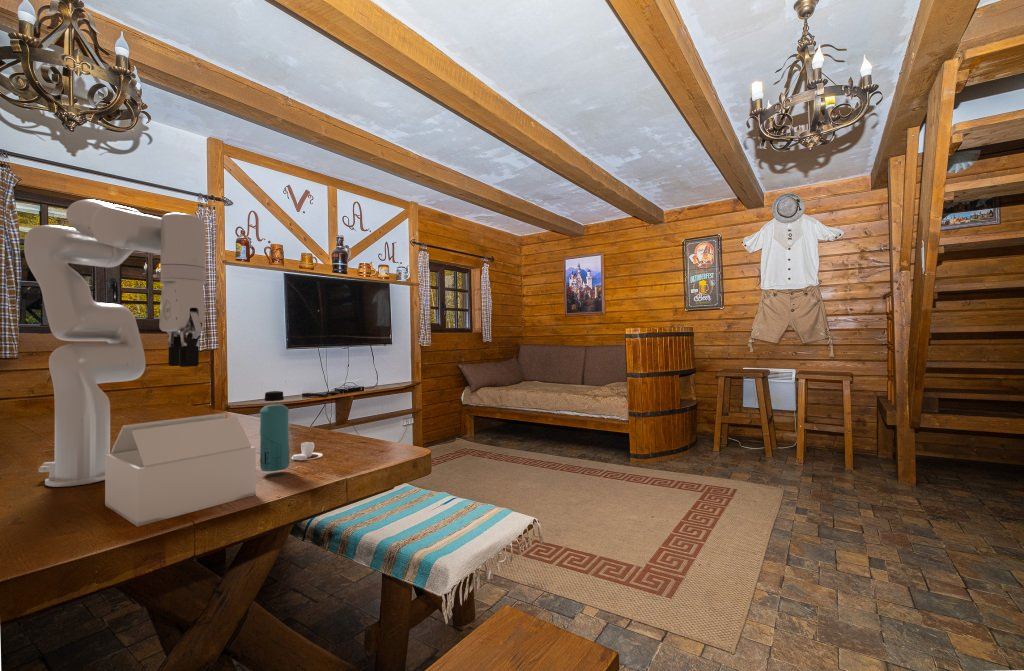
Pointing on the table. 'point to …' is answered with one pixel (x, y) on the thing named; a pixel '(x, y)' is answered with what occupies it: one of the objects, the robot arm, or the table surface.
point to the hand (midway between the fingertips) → (183, 365)
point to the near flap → (189, 440)
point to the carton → (176, 484)
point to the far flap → (126, 437)
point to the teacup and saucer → (306, 452)
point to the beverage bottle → (274, 434)
